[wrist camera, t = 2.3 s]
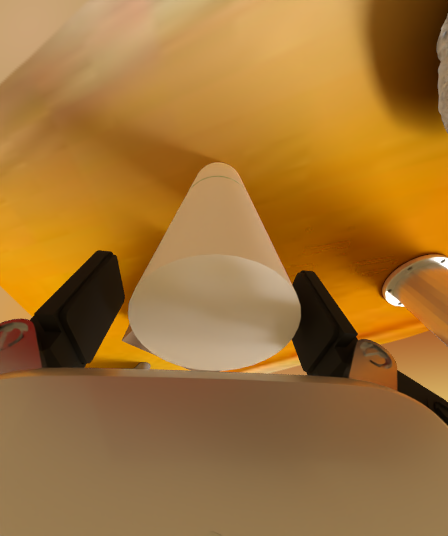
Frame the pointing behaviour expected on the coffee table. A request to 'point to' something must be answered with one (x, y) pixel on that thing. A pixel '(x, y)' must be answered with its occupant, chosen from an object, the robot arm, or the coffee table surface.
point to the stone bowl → (443, 73)
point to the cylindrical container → (215, 282)
